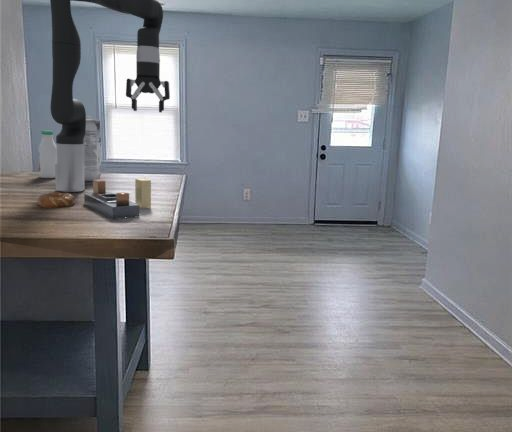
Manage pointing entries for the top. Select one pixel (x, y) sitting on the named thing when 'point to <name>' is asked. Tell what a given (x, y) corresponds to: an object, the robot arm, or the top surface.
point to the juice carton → (92, 150)
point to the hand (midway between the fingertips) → (147, 111)
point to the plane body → (110, 202)
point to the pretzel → (56, 200)
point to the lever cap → (143, 193)
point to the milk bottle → (47, 155)
